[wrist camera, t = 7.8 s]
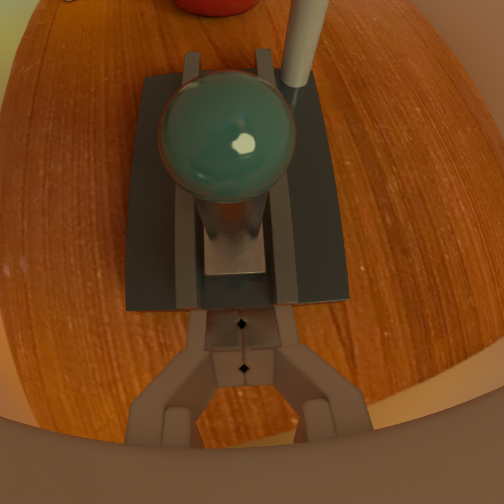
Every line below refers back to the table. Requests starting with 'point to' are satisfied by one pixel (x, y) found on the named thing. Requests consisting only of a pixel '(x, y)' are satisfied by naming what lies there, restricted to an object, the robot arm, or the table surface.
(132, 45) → the table surface
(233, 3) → the apple
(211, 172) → the tap handle
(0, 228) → the table surface
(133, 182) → the tap base
